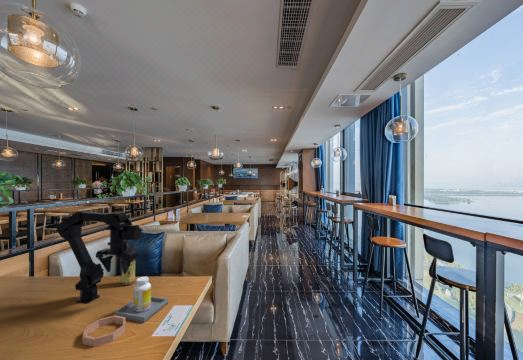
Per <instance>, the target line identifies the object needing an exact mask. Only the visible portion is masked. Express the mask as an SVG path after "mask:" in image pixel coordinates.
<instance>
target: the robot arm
mask: <svg viewBox="0 0 523 360" xmlns="http://www.w3.org/2000/svg"><path fill="white" fill-rule="evenodd" d="M86 221H88V222H89V221H90V222H99V223H101V222H102V223H103V224H105V225H107V227H106V228H105V230H106V231H109V242H107V245H108V246H109V248H107V247H106V248H103V249H100V250H98V251H97V252H96V253H95V258H96V259H98V260H99V262H100V263H95V262H94V261H93V258H92V257H91V254H90V252H89V250H88V248H87V247H86V244H85V242H84V240H83V237H82V236H81V235H82V231H83V228H82V225H84V224H85V222H86ZM56 231H57V233H58V235H59V236H60V237H61V238H62V239H64V240H66V241H67V242H68V244H69V247H70V249H71V251H72V252H73V254H74V257H75V259H76V261H77V264H78V265H79V267H80V271H79V278H80V280H79V281H77V283H76V284H75V285H74V287H75V290H76V291H79V298H78V299H77V300H76V302H78V303H83V304H89V303H91V302H93V301H94V300H96V299H97V298H99V297H101V295H100V294H98V284H99V283H101V281H102V279H103V278H104V276H105V275H104V274H105V273H104V271H105V270H106V272H107V273H110V272H111V269H112V268H111V267H112V259H113V257H117V258H118V257H119V258H120V259H121V260H120V264H121V270H122V269H123V273H124V274H126V273H127V271H128V268H129V266H130V263H131V262H132V260H134V259H135V260H136V259H137V258H139V252H138V251H136V250H134V249H135V246H136V245H135V243H128V241H138V240H140V239H141V237H142V235H143V231H142V228H141V227H140V225H139V224H133V223H132V221H131V219H129V217H128V215H127V213H126V212H125V211H116V212H99V211H88V210H80V211H76V212H74V213H73V214H72V215H70V216H68V217H67V218H65V219H63V221H61V222H59V223H58V225H57V227H56ZM128 250H132V251H129V252H126V251H128ZM125 252H126V253H125ZM102 266H103V267H104V268H103V267H102ZM104 269H105V270H104Z"/></svg>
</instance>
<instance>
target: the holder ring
mask: <svg viewBox="0 0 523 360" xmlns="http://www.w3.org/2000/svg"><path fill="white" fill-rule="evenodd" d="M126 320H127V319H126V317H121V316H115V315H114V314H113V315H111V316H107V317H103V318H99V319H97V320H95V321H94V322H92V323H90V324H89V325H88V326H86V327H84V329H83V334H82V338H81V339H82V341H81V342H82V343H81V344H82V345H86V346H88V347H89V346H90V347H94V348H96V347H98V346H99V347H100V346H101V345H105V344H109V343H111V342H114V341H116V340H117V339H118V338H119V337H120V336H122V335H123V334H124V333H125V332H126ZM111 324H112V325H113V324H117V325H121V326H120V327H118V328H116V330H114V331H113V332H110V333H107V334H104V335H99V336H95V337H94V336H90V335H89V334H91V333H93V331H95V330H97V329H98V328H100V327H104V326H107V325H111Z"/></svg>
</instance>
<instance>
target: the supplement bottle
mask: <svg viewBox="0 0 523 360" xmlns="http://www.w3.org/2000/svg"><path fill="white" fill-rule="evenodd" d="M149 281H150V280H149V277H148V276H141V277H138V278H136V284H135V285H134V287H133V300H134V311H136V312H142V311H146V310H147V309H149V308H150V306H151V296H152V284H151V283H150V282H149Z"/></svg>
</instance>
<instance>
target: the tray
mask: <svg viewBox="0 0 523 360" xmlns="http://www.w3.org/2000/svg"><path fill="white" fill-rule="evenodd" d="M167 304H169V298H165V297H158V296H154V295H153V296H152V295H151V306H150V308H149V309H147V310H146V311H142V312H136V311H134V299H132V300H131V301H129V302H128V303H126V304H124V305H123V306H121V307H120V308H119V309H117V310H115V311H114V313H113V316H114V315H115V316H121V317H126V320H128V321H135V322H139V323H146V322H147V321H149V320H150V319H151V318H152V317H154V316H155V315H156V314H157V313H158V312H159V311H160V310H162V309H163V308H165V306H167Z"/></svg>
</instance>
